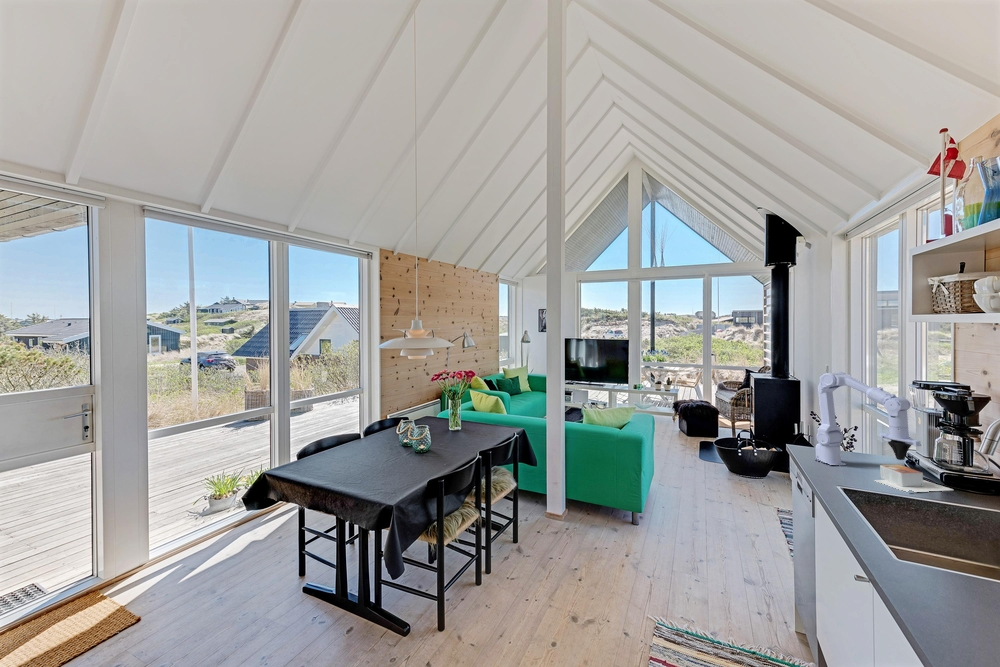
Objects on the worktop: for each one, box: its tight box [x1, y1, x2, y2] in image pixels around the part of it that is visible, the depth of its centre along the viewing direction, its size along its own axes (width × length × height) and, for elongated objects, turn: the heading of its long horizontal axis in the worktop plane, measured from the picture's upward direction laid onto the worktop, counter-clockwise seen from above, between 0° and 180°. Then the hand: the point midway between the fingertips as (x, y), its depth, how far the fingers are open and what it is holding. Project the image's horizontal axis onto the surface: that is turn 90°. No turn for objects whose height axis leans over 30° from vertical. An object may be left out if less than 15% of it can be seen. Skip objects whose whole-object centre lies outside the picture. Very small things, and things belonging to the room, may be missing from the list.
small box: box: [879, 464, 924, 487], centre depth 166 cm, size 8×6×10 cm
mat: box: [873, 479, 954, 493], centre depth 162 cm, size 14×18×1 cm
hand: (900, 459), depth 167 cm, fingers closed
